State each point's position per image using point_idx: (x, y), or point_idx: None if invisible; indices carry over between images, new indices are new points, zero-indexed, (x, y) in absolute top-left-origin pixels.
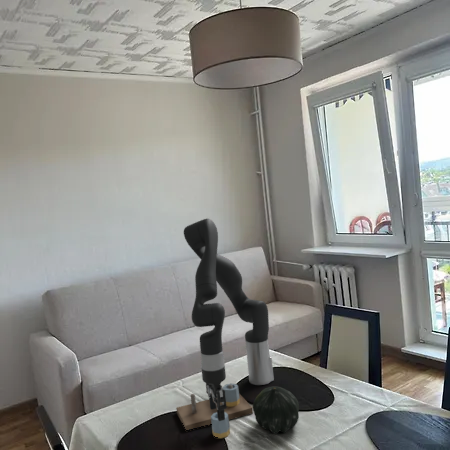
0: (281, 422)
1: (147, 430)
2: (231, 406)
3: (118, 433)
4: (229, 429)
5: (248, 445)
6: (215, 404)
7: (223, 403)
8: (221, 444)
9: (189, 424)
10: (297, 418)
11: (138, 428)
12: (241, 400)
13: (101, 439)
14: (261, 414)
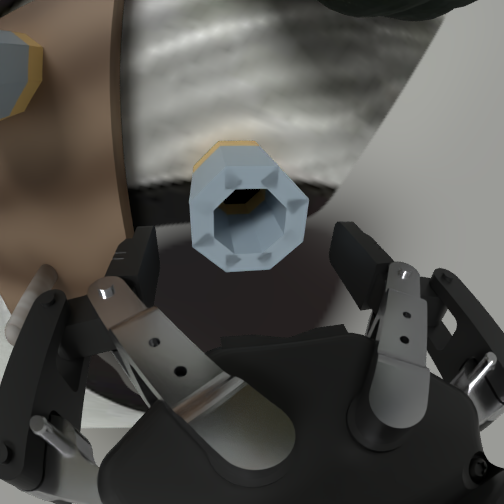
0: None
1: (112, 378)
2: (41, 81)
3: (115, 411)
4: (258, 145)
5: (386, 115)
6: (149, 247)
7: (417, 292)
8: (318, 206)
9: None
10: None
11: (99, 388)
12: (15, 25)
13: None
14: (433, 12)
